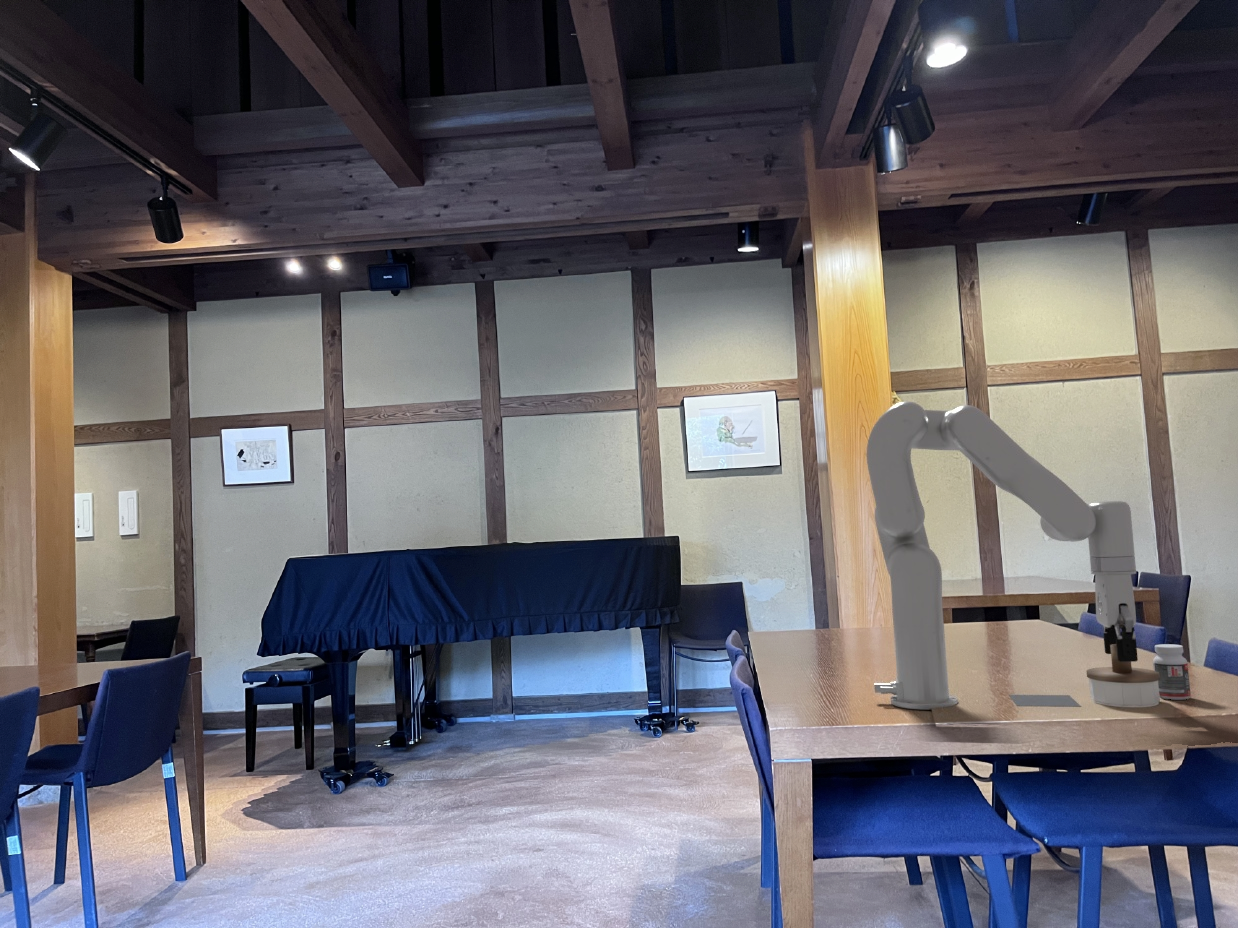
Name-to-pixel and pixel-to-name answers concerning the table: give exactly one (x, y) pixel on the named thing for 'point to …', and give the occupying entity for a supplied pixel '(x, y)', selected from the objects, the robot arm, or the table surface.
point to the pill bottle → (1172, 672)
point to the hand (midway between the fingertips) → (1120, 657)
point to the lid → (1122, 672)
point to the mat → (1044, 700)
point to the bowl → (1124, 693)
